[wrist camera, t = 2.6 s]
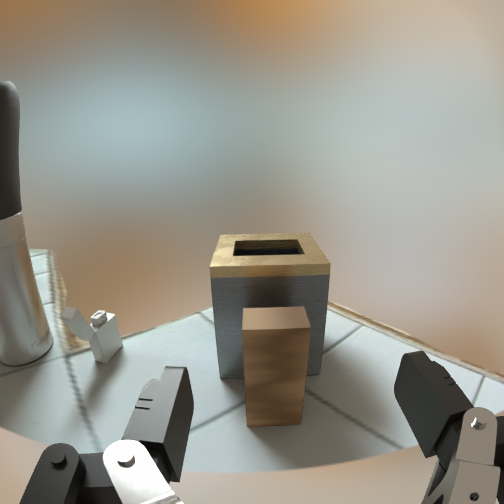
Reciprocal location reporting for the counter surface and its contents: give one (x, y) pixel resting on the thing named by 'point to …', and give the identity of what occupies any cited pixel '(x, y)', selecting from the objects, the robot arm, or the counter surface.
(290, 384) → the wooden block
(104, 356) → the lighter
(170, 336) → the counter surface
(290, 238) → the coin box
